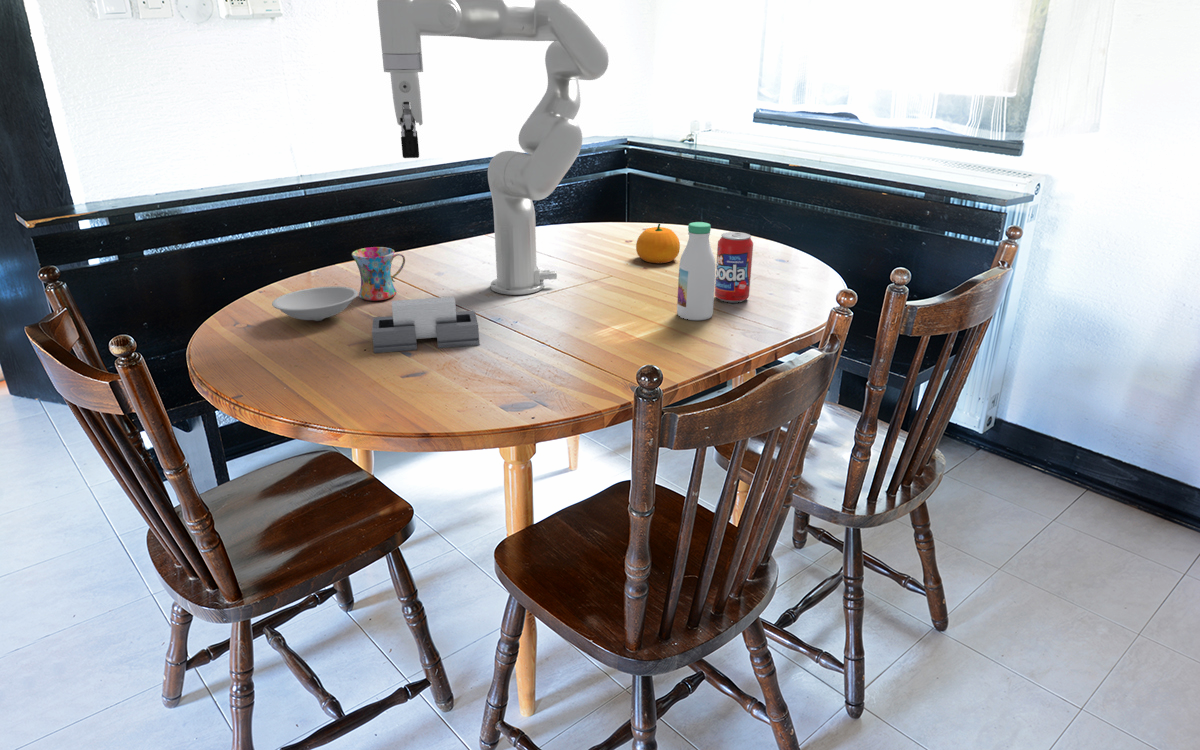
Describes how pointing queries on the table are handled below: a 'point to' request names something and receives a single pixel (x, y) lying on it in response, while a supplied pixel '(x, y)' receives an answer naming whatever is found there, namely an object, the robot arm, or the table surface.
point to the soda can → (733, 267)
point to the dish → (315, 302)
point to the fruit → (658, 245)
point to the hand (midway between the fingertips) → (410, 154)
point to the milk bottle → (696, 275)
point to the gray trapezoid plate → (424, 314)
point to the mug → (376, 272)
